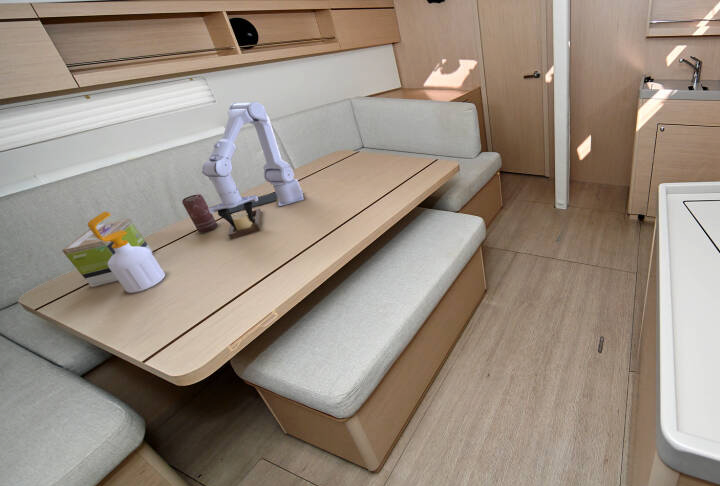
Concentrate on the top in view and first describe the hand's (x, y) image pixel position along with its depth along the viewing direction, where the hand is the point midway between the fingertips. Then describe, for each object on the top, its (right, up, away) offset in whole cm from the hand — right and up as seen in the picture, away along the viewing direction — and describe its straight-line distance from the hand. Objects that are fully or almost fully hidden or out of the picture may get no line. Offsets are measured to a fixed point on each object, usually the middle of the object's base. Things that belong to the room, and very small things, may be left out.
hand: (243, 223), depth 132 cm
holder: (-2, -1, +4) cm, 5 cm away
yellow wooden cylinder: (0, -3, +1) cm, 3 cm away
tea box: (-27, -14, -16) cm, 34 cm away
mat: (-13, +6, +22) cm, 26 cm away
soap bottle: (-11, -16, -24) cm, 31 cm away
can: (-17, -3, +4) cm, 17 cm away
